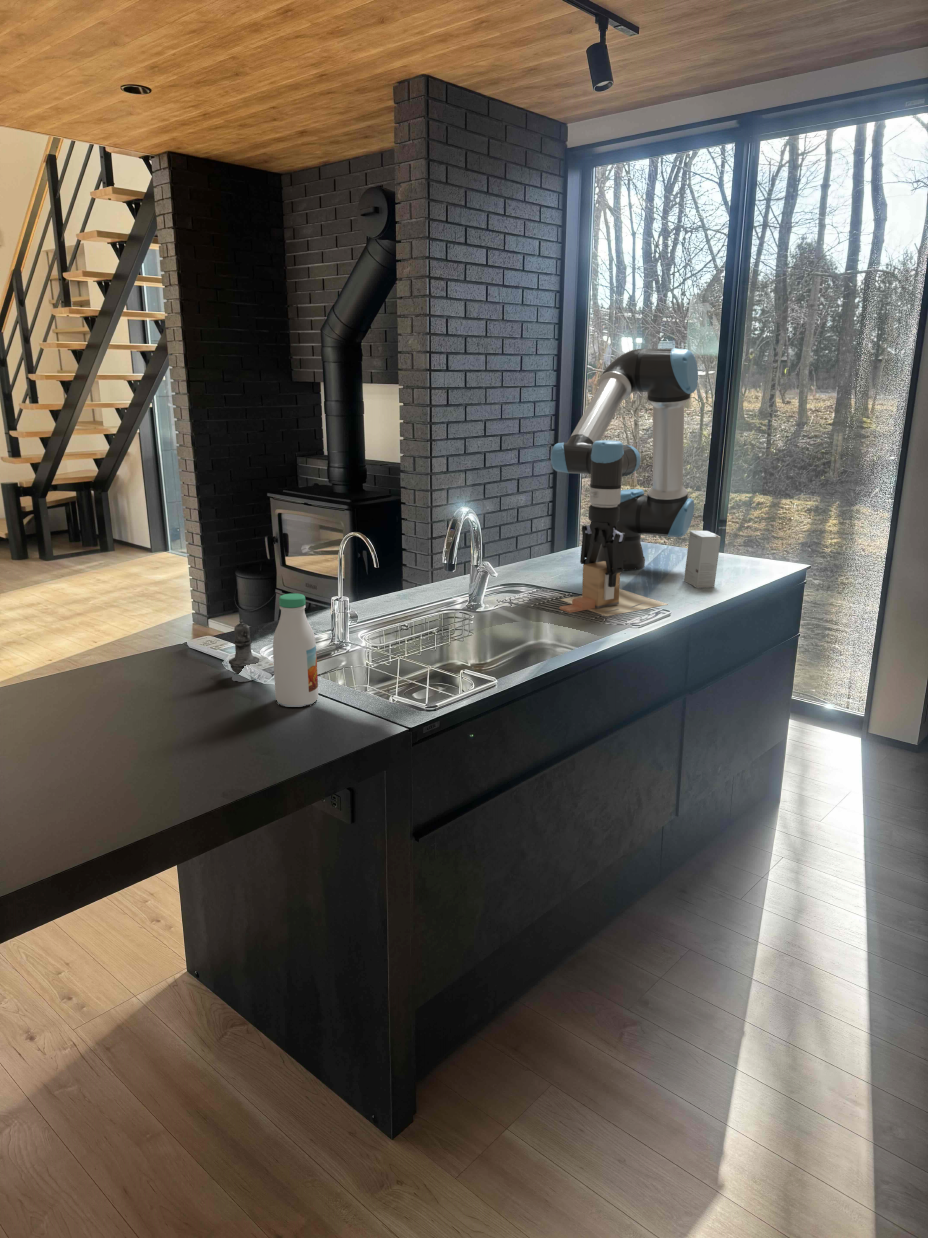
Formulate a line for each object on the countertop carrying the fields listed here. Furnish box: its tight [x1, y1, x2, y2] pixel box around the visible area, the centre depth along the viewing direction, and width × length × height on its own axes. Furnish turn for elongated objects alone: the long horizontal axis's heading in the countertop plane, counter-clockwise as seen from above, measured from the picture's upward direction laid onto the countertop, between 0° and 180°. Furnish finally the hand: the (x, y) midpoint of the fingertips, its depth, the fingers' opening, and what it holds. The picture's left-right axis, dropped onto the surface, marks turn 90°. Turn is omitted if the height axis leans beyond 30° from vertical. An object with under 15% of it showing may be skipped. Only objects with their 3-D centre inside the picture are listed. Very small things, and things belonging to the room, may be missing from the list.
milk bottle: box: [272, 592, 319, 705], centre depth 156 cm, size 8×8×20 cm
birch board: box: [559, 588, 670, 617], centre depth 223 cm, size 21×18×1 cm
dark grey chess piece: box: [228, 619, 260, 674], centre depth 169 cm, size 6×6×12 cm
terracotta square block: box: [571, 597, 595, 611], centre depth 217 cm, size 4×4×2 cm
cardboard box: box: [581, 561, 621, 608], centre depth 219 cm, size 7×6×10 cm
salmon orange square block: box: [559, 604, 583, 614], centre depth 215 cm, size 4×4×2 cm
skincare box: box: [683, 530, 722, 589], centre depth 244 cm, size 8×6×15 cm
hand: (599, 595), depth 219 cm, fingers closed on cardboard box, 6 cm apart
